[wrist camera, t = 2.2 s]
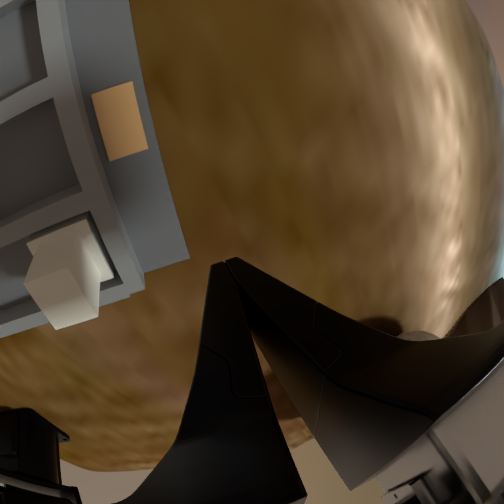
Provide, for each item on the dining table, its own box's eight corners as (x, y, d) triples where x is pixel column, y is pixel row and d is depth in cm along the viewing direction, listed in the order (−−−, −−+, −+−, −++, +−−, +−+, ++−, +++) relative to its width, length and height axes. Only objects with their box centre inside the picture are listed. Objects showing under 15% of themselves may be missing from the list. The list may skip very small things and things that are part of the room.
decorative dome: (431, 370, 50) (458, 404, 43) (454, 316, 38) (494, 359, 30) (487, 320, 52) (513, 348, 44) (514, 259, 40) (549, 291, 32)
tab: (114, 264, 13) (113, 318, 10) (60, 283, 12) (50, 337, 10) (89, 208, 11) (76, 254, 8) (32, 231, 11) (9, 281, 8)
